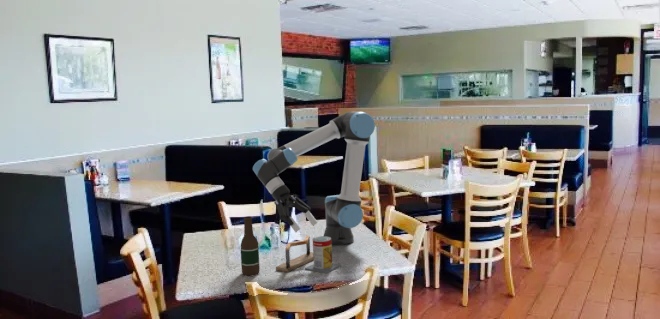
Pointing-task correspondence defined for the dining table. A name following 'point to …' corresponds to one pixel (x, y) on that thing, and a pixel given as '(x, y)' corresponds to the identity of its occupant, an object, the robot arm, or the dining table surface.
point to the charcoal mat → (323, 269)
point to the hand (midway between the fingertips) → (307, 227)
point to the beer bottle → (249, 250)
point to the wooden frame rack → (299, 260)
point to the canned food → (322, 252)
